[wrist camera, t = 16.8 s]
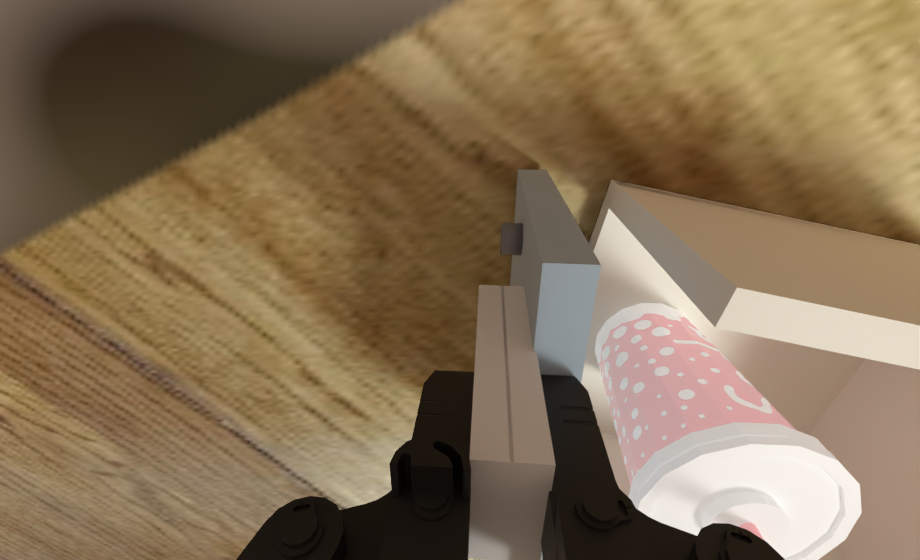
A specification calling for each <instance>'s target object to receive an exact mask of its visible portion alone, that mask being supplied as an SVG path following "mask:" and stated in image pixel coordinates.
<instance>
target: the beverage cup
mask: <svg viewBox="0 0 920 560" xmlns="http://www.w3.org/2000/svg"><path fill="white" fill-rule="evenodd" d="M595 353H596V357H597V361H598V365H599V368H600V372H601V376H602V380H603V384H604V388H605V391H606V395H607V399H608V403H609V407H610V410H611V414H612V418H613V422H614V426H615V429H616V433H617V437H618V441H619V445H620V449H621V452H622V456H623V460H624V464H625V468H626V471H627V475H628V479H629V483H630V487H631V488H630V492H629V498H630V499H631V500H632V502H633V504H634V506H635V508H636V509H638V510H639V511H641V512H642V513H644V514H645V515H646V516H648V517H650V518H652V519H654V520H656V521H658V522H661V523H663V524H666V525H669V526H671V527H674V528H677V529H680V530H682V531H685V532H688V533H691V534H693V535H696V536H698V534H699V532H700V530H701V529H702V528H704V527H706V526H708V525H710V524H712V523H728V524H732V525H735V526H738V527H741V528H744V529H746V530H749V531H750V532H752V533H753V534H755V535H757V536H758V537H760V538H761V539H763V540H765V541H766V542H767V543H768V544H769V545H770V546H772V547H773V548H774V549H775V550H776V551H777V552H778V553H779V554H780V555H781V556H782V557H783V558H784V559H785V560H819V559H820V558H821V557H823V556H824V555H825V554H827V553H828V552H829V551H831V550H832V549H834V548H835V547H836V546H838V545H839V544H840V543H842V542H843V541H844V540H846V538H847V536H848V535H849V533H850V531H851V530H852V528H853V526H854V525H855V523H856V521H857V520H858V518H859V516H860V515H861V513H862V509H861V494H860V484H859V483H858V482H857V481H856V480H855V479H854V477H853V476H852V475H851V474H850V473H849V472H848V471H847V470H846V469H845V468H844V466H843V465H842V464H841V463H840V462H839V461H838V460H837V459H836V458H835V457H834V455H833V454H832V453H831V452H829V451H828V450H827V449H826V448H825V447H824V446H823V445H822V444H821V443H820V442H819V440H818V439H817V438H815V437H813V436H810V435H807V434H805V433H802V432H799V431H797V430H795V429H794V427H793V426H792V425H791V424H790V423H789V422H788V421H787V420H786V419H785V418H784V417H783V416H782V415H781V414H780V413H779V412H778V411H777V410H776V409H775V408H774V407H773V406H772V405H771V404H770V403H769V402H768V401H767V400H766V399H765V398H764V397H763V396H762V395H761V394H760V393H759V392H758V391H757V390H756V388H755V387H754V386H753V385H752V384H751V383H750V382H749V381H748V380H747V379H746V378H745V377H744V376H743V375H742V374H741V373H740V372H739V371H738V370H737V369H736V368H735V367H734V366H733V365H732V364H731V363H730V362H729V361H728V360H727V359H726V358H725V357H724V356H723V355H722V354H721V353H720V352H719V351H718V349H717V348H716V347H715V346H714V345H713V344H712V343H711V342H710V341H709V340H708V339H707V338H706V337H705V336H704V335H703V334H702V333H701V332H700V331H699V330H698V329H697V328H696V327H695V326H694V325H693V324H692V323H691V322H690V321H689V320H688V319H687V318H686V317H685V316H684V315H683V314H682V313H681V312H680V310H677V309H675V308H672V307H670V306H667V305H665V304H662V303H640V304H637V305H634V306H631V307H628V308H624V309H622V310H620V311H619V312H618V313H616V314H615V315H614V316H612V317H611V318H609V319H608V320H607V321H606V322H605V324H604V325H603V327H602V328H601V330H600V331H599V333H598V334H597V339H596V346H595Z"/></svg>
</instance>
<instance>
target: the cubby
mask: <svg viewBox="0 0 920 560" xmlns="http://www.w3.org/2000/svg"><path fill="white" fill-rule="evenodd" d="M589 245H590V247H591V248H592V250H593V252H594V254H595V255H596V257H597V259H598V261H599V262H600V264H601V268H600V274H599V280H598V286H597V292H596V298H595V304H594V310H593V316H592V322H591V327H590V333H589V339H588V345H587V351H586V357H585V363H584V369H583V375H582V381H581V384H582V385H583V386H584V387H585V388H586V389H587V391H588V393H589V396H590V399H591V403H592V406H593V411H594V412H595V416H596V419H597V425H599V428H600V432H601V435H602V438H603V441H604V445H605V448H606V451H607V454H608V457H609V461H610V464H611V467H612V470H613V474H614V477H615V480H616V482H617V484H618V487H619V489H620V490H621V491H622V492H623V493H624V494H626V495H627V496H628V497H629V492H630V488H631V487H630V483H629V479H628V475H627V471H626V468H625V464H624V460H623V456H622V452H621V449H620V445H619V441H618V437H617V433H616V429H615V426H614V422H613V418H612V414H611V410H610V407H609V403H608V399H607V395H606V391H605V388H604V384H603V380H602V376H601V372H600V368H599V365H598V361H597V357H596V353H595V346H596V339H597V334H598V333H599V331H600V330H601V328H602V327H603V325H604V324H605V322H606V321H607V320H608V319H609V318H611V317H612V316H614V315H615V314H616V313H618V312H619V311H620V310H622V309H624V308H628V307H631V306H634V305H637V304H640V303H662V304H665V305H667V306H670V307H672V308H675V309H677V310H680V312H681V313H682V314H683V315H684V316H685V317H686V318H687V319H688V320H689V321H690V322H691V323H692V324H693V325H694V326H695V327H696V328H697V329H698V330H699V331H700V332H701V333H702V334H703V335H704V336H705V337H706V338H707V339H708V340H709V341H710V342H711V343H712V344H713V345H714V346H715V347H716V348H717V349H718V351H719V352H720V353H721V354H722V355H723V356H724V357H725V358H726V359H727V360H728V361H729V362H730V363H731V364H732V365H733V366H734V367H735V368H736V369H737V370H738V371H739V372H740V373H741V374H742V375H743V376H744V377H745V378H746V379H747V380H748V381H749V382H750V383H751V384H752V385H753V386H754V387H755V388H756V390H757V391H758V392H759V393H760V394H761V395H762V396H763V397H764V398H765V399H766V400H767V401H768V402H769V403H770V404H771V405H772V406H773V407H774V408H775V409H776V410H777V411H778V412H779V413H780V414H781V415H782V416H783V417H784V418H785V419H786V420H787V421H788V422H789V423H790V424H791V425H792V426H793V427H794V429H795V430H797V431H799V432H802V433H805V434H807V435H810V436H813V437H815V438H817V439H818V440H819V442H820V443H821V444H822V445H823V446H824V447H825V448H826V449H827V450H828V451H829V452H831V453H832V454H833V455H834V457H835V458H836V459H837V460H838V461H839V462H840V463H841V464H842V465H843V466H844V468H845V469H846V470H847V471H848V472H849V473H850V474H851V475H852V476H853V477H854V479H855V480H856V481H857V482H858V483H859V484H860V494H861V509H862V513H861V515H860V516H859V518H858V520H857V521H856V523H855V525H854V526H853V528H852V530H851V531H850V533H849V535H848V536H847V538H846V540H844V541H843V542H842V543H840V544H839V545H838V546H836V547H835V548H834V549H832V550H831V551H829V552H828V553H827V554H825V555H824V556H823V557H821V558H820V559H819V560H920V245H919V244H914V243H909V242H905V241H900V240H895V239H890V238H886V237H881V236H876V235H872V234H867V233H862V232H857V231H853V230H848V229H843V228H839V227H834V226H829V225H824V224H820V223H815V222H810V221H806V220H801V219H796V218H791V217H787V216H782V215H777V214H772V213H768V212H763V211H758V210H754V209H749V208H744V207H739V206H735V205H730V204H725V203H721V202H716V201H711V200H706V199H702V198H697V197H692V196H687V195H683V194H678V193H673V192H669V191H664V190H659V189H654V188H650V187H645V186H640V185H636V184H631V183H626V182H621V181H617V180H612V179H611V182H610V185H609V188H608V190H607V193H606V196H605V199H604V202H603V204H602V207H601V210H600V213H599V216H598V219H597V221H596V224H595V227H594V230H593V233H592V236H591V238H590V241H589Z"/></svg>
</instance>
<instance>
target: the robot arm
mask: <svg viewBox="0 0 920 560" xmlns="http://www.w3.org/2000/svg"><path fill="white" fill-rule="evenodd" d="M390 473H391V485H392V490H391V491H390V492H389V493H388V494H386V495H385V496H383V497H381V498H380V499H378V500H376V501H373V502H370V503H367V504H364V505H360V506H355V507H351V508H347V509H343V510H339V509H338V507H337V505H336V504H334V503H333V502H331V501H329V500H328V499H326V498H322V497H313V496H309V497H305V498H300V499H296V500H293V501H292V502H290V503H288V504H286V505H284V506H283V507H281V508H279V509H278V510H277V511H276V512H275V513H274V514H273V515H272V516H271V517H270V518H269V519H268V520H267V521H266V522H265V523H264V524H263V526H262V527H261V528H260V530H259V531H258V532H257V533H256V535H255V536H254V537H253V539H252V540H251V541H250V543H249V544H248V545H247V546H246V548H245V549H244V550H243V552H242V553H241V554H240V556H239V557H238V558H237V559H236V560H468V558H472V559H485V560H540V559H541V553H542V556H543V560H785V559H784V558H783V557H782V556H781V555H780V554H779V553H778V552H777V551H776V550H775V549H774V548H773V547H772V546H770V545H769V544H768V543H767V542H766V541H765V540H763V539H761V538H760V537H758V536H757V535H755V534H753V533H752V532H750V531H749V530H746V529H744V528H741V527H738V526H735V525H732V524H728V523H712V524H710V525H708V526H706V527H704V528H702V529H701V530H700V532H699V534H698V536H696V535H693V534H691V533H688V532H685V531H682V530H680V529H677V528H674V527H671V526H669V525H666V524H663V523H661V522H658V521H656V520H654V519H652V518H650V517H648V516H646V515H645V514H644V513H642V512H641V511H639V510H638V509H636V508H635V506H634V504H633V502H632V500H631V499H630V498H629V497H628V496H627V495H626V494H624V493H623V492H622V491H621V490H620V489H619V487H618V484H617V482H616V480H615V477H614V474H613V470H612V467H611V464H610V461H609V457H608V454H607V451H606V448H605V445H604V441H603V438H602V435H601V432H600V428H599V425H597V419H596V416H595V412H594V411H593V406H592V403H591V399H590V396H589V393H588V391H587V389H586V388H585V387H584V386H583V385H582V384H581V383H580V382H579V380H578V379H577V378H576V377H575V376H559V375H540V369H539V363H538V357H537V351H533V344H532V337H531V330H530V323H529V316H528V309H527V302H526V296H525V289H524V287H522V286H498V285H479V295H478V314H477V332H476V350H475V368H474V372H457V371H438V370H435V371H434V372H433V373H432V375H431V376H430V377H429V378H428V379H427V381H426V382H425V383H424V386H423V390H422V395H421V399H420V404H419V409H418V415H417V418H416V422H415V427H414V432H413V436H412V440H410V441H407V442H406V443H405V444H404V445H402V446H401V447H400V448H399V449H398V450H397V451H396V452H395V454H394V456H393V458H392V460H391V462H390Z"/></svg>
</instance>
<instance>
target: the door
mask: <svg viewBox="0 0 920 560" xmlns="http://www.w3.org/2000/svg"><path fill="white" fill-rule="evenodd" d="M500 255H512V264H511V278H510V286H522V287H524V289H525V296H526V302H527V309H528V316H529V323H530V330H531V337H532V344H533V351H537V357H538V363H539V369H540V375H559V376H575V377H576V378H577V379H578V380H579V382H580V383H581V381H582V375H583V369H584V363H585V357H586V351H587V345H588V339H589V333H590V327H591V322H592V316H593V310H594V304H595V298H596V292H597V286H598V280H599V274H600V268H601V264H600V262H599V261H598V259H597V257H596V255H595V254H594V252H593V250H592V248H591V247H590V245H589V243H588V241H587V240H586V238H585V236H584V234H583V233H582V231H581V229H580V227H579V226H578V224H577V222H576V221H575V219H574V217H573V215H572V214H571V212H570V210H569V208H568V207H567V205H566V203H565V201H564V200H563V198H562V196H561V194H560V193H559V191H558V189H557V187H556V186H555V184H554V182H553V180H552V179H551V177H550V175H549V174H548V172H547V170H529V169H518V174H517V189H516V204H515V219H514V223H502V225H501V243H500ZM540 560H543V556H542V553H541V559H540Z"/></svg>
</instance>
